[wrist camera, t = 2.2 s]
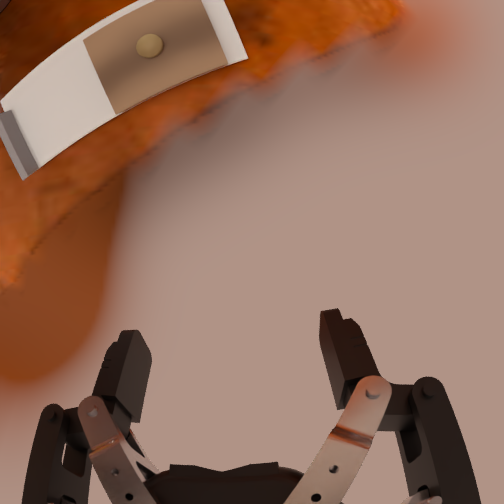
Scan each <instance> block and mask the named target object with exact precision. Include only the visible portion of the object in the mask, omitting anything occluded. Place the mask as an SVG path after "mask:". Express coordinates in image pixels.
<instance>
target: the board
mask: <svg viewBox="0 0 504 504" xmlns="http://www.w3.org/2000/svg"><path fill="white" fill-rule="evenodd" d="M152 1H154V0H139V1H136V2H134V3H132V4H130V5H129V6H127V7H125V8H123V9H121V10H119V11H117V12H115V13H114V14H112V15H110V16H108V17H107V18H105V19H103V20H102V21H100V22H98V23H97V24H95V25H93V26H92V27H90V28H89V29H87V30H86V31H84V32H82V33H81V34H79V35H78V36H77V37H75V38H74V39H72V40H71V41H69V42H68V43H67V44H65V45H64V46H62V47H61V48H60V49H58V50H57V51H56V52H54V53H53V54H52V55H51V56H49V57H48V58H47V59H46V60H44V61H43V62H42V63H41V64H40V65H38V66H37V67H36V68H35V69H34V70H32V71H31V72H30V73H29V74H28V75H27V76H26V77H25V78H23V79H22V80H21V81H20V82H19V83H18V84H17V85H16V86H15V87H14V88H13V89H12V90H11V91H10V92H9V93H8V94H7V95H6V96H5V97H4V98H3V99H2V100H1V101H0V102H1V104H2V107H3V109H4V112H3V113H0V136H1V139H2V141H3V143H4V145H5V147H6V149H7V151H8V153H9V155H10V157H11V159H12V161H13V163H14V165H15V167H16V169H17V171H18V173H19V175H20V176H21V178H22V180H24V179H26V178H27V177H28V176H30V175H31V174H32V173H34V172H35V171H36V170H38V169H39V168H41V167H42V166H43V165H44V164H46V163H47V162H48V161H50V160H51V159H52V158H54V157H55V156H56V155H58V154H59V153H61V152H62V151H63V150H65V149H66V148H68V147H69V146H70V145H72V144H73V143H75V142H76V141H78V140H79V139H81V138H82V137H84V136H85V135H87V134H88V133H90V132H92V131H93V130H95V129H96V128H98V127H100V126H101V125H103V124H105V123H106V122H108V121H110V120H111V119H113V118H115V117H116V116H118V115H120V114H122V113H123V112H121V113H119V114H117V115H116V114H115V112H114V110H113V108H112V106H111V104H110V101H109V99H108V97H107V95H106V93H105V91H104V88H103V86H102V84H101V82H100V80H99V77H98V75H97V73H96V71H95V68H94V66H93V64H92V61H91V59H90V57H89V54H88V52H87V50H86V47H85V45H84V42H83V40H84V39H85V38H87V37H88V36H90V35H91V34H93V33H94V32H96V31H98V30H99V29H101V28H103V27H104V26H106V25H108V24H109V23H111V22H113V21H115V20H117V19H118V18H120V17H122V16H124V15H126V14H128V13H130V12H132V11H134V10H135V9H138V8H140V7H142V6H144V5H146V4H148V3H150V2H152ZM201 1H202V3H203V5H204V8H205V10H206V12H207V14H208V17H209V19H210V21H211V23H212V26H213V28H214V30H215V33H216V35H217V37H218V40H219V42H220V44H221V47H222V49H223V52H224V54H225V56H226V59H227V61H228V65H231V64H233V63H236V62H239V61H242V60H246V59H248V57H247V54H246V52H245V49H244V47H243V44H242V42H241V40H240V37H239V35H238V32H237V30H236V28H235V25H234V23H233V21H232V18H231V16H230V14H229V11H228V9H227V7H226V5H225V2H224V0H201ZM228 65H226V66H228ZM223 67H225V66H223ZM221 68H222V67H221ZM218 69H219V68H218ZM215 70H217V69H215ZM212 71H214V70H212ZM210 72H211V71H210ZM207 73H209V72H207ZM205 74H206V73H205ZM202 75H204V74H202ZM200 76H201V75H200ZM197 77H199V76H197ZM195 78H196V77H195ZM192 79H194V78H192ZM190 80H191V79H190ZM188 81H189V80H188ZM185 82H187V81H185ZM183 83H184V82H183ZM181 84H182V83H181ZM178 85H180V84H178ZM176 86H177V85H176ZM174 87H175V86H174ZM172 88H173V87H172ZM170 89H171V88H170ZM167 90H169V89H167ZM165 91H166V90H165ZM163 92H164V91H163ZM161 93H162V92H161ZM159 94H160V93H159ZM157 95H158V94H157ZM155 96H156V95H155ZM153 97H154V96H153ZM151 98H152V97H151ZM149 99H150V98H149ZM147 100H148V99H147ZM145 101H146V100H145ZM143 102H144V101H143ZM141 103H142V102H141ZM139 104H140V103H139ZM137 105H138V104H137ZM135 106H136V105H135ZM133 107H134V106H133ZM133 107H131V108H133ZM131 108H130V109H131ZM128 110H129V109H128ZM126 111H127V110H126ZM124 112H125V111H124Z"/></svg>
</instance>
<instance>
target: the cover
mask: <svg viewBox="0 0 504 504" xmlns="http://www.w3.org/2000/svg"><path fill="white" fill-rule="evenodd" d="M83 42H84V45H85V47H86V50H87V52H88V54H89V57H90V59H91V61H92V64H93V66H94V68H95V71H96V73H97V75H98V77H99V80H100V82H101V84H102V86H103V88H104V91H105V93H106V95H107V97H108V99H109V101H110V104H111V106H112V108H113V110H114V112H115V114H116V115H117V114H119V113H121V112H124V111H126V110H128V109H130V108H131V107H133V106H135V105H137V104H139V103H141V102H143V101H145V100H147V99H149V98H151V97H153V96H155V95H157V94H159V93H161V92H163V91H165V90H167V89H170V88H172V87H174V86H176V85H178V84H181V83H183V82H185V81H188V80H190V79H192V78H195V77H197V76H200V75H202V74H205V73H207V72H210V71H212V70H215V69H218V68H221V67H223V66H226V65H228V61H227V59H226V56H225V54H224V52H223V49H222V47H221V44H220V42H219V40H218V37H217V35H216V33H215V30H214V28H213V26H212V23H211V21H210V19H209V17H208V14H207V12H206V10H205V8H204V5H203V3H202V1H201V0H154V1H152V2H150V3H148V4H146V5H144V6H142V7H140V8H138V9H135V10H134V11H132V12H130V13H128V14H126V15H124V16H122V17H120V18H118V19H117V20H115V21H113V22H111V23H109V24H108V25H106V26H104V27H103V28H101V29H99V30H98V31H96V32H94V33H93V34H91V35H90V36H88V37H87V38H85V39H84V40H83Z"/></svg>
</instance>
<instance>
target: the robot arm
mask: <svg viewBox="0 0 504 504" xmlns="http://www.w3.org/2000/svg"><path fill="white" fill-rule="evenodd" d="M9 1H10V0H0V12H1V11H2V10H3V9H4V8H5V7H6V5H7V4H8V3H9ZM319 340H320V346H321V350H322V354H323V357H324V361H325V365H326V369H327V372H328V376H329V380H330V384H331V387H332V391H333V395H334V399H335V403H336V407H337V410H340V409H345V410H344V411H343V413H342V415H341V417H340V419H339V421H338V423H337V424H336V426H335V428H334V429H332V431H331V432H330V434H329V436H328V437H327V439H326V441H325V443H324V444H323V446H322V448H321V449H320V451H319V452H318V454H317V456H316V457H315V459H314V460H313V462H312V463H311V465H310V466H309V468H308V470H307V471H306V473H305V474H304V473H302V472H299V471H297V470H294V469H291V468H285V467H279V465H278V462H272V463H261V464H250V465H246V466H243V467H239V468H236V469H232V470H228V471H224V472H221V471H216V470H211V469H207V468H203V467H199V466H195V465H194V466H193V465H173V464H170V470H167V471H163V472H161V473H160V471H159V470H158V469H157V468H156V467H155V465H153V464H152V462H151V461H150V460H149V458H148V457H147V455H146V454H145V452H144V450H143V449H142V447H141V445H140V444H139V442H138V440H137V439H136V437H135V435H134V434H133V432H132V430H131V429H130V425H131V422H135V423H140V418H141V412H142V407H143V402H144V397H145V392H146V387H147V382H148V378H149V373H150V368H151V364H152V357H151V353H150V350H149V348H148V347H147V345H146V343H145V341H144V339H143V337H142V335H141V333H140V332H139V331H138V330H123V331H122V332H121V333H120V335H119V338H118V341H117V342H113V343H112V345H111V346H110V347H109V348H108V350H107V352H106V354H105V357H104V361H103V363H102V366H101V367H102V368H101V369H100V372H99V375H98V378H97V381H96V384H95V387H94V390H93V393H92V396H89V397H87V398H85V399H84V400H83V401H82V402H81V403H80V404H79V407H76V408H71V409H66V410H64V409H63V408H62V407H60V406H59V405H58V404H50V405H48V406H47V407H45V408H44V409H43V411H42V413H41V416H40V419H39V423H38V426H37V430H36V434H35V438H34V442H33V446H32V450H31V454H30V459H29V463H28V468H27V473H26V479H25V485H24V492H23V498H22V504H88V494H89V485H90V476H91V468H92V464H93V467H94V469H95V471H96V473H97V475H98V477H99V479H100V481H101V483H102V485H103V487H104V489H105V491H106V493H107V495H108V497H109V499H110V500H111V502H112V504H343V503H342V502H341V501H342V499H343V497H344V496H345V494H346V492H347V490H348V489H349V487H350V485H351V484H352V482H353V480H354V478H355V476H356V474H357V473H358V471H359V469H360V467H361V465H362V463H363V461H364V459H365V457H366V455H367V453H368V451H369V449H370V447H371V444H372V440H373V438H374V436H375V433H376V431H395V434H396V438H397V442H398V446H399V450H400V454H401V458H402V463H403V467H404V472H405V477H406V481H407V486H408V491H409V497H408V498H407V499H405V500H404V501H403V502H402V503H401V504H481V501H480V496H479V492H478V488H477V484H476V480H475V476H474V473H473V469H472V466H471V462H470V459H469V455H468V452H467V449H466V445H465V442H464V440H463V436H462V433H461V431H460V428H459V425H458V422H457V420H456V417H455V414H454V411H453V409H452V406H451V404H450V401H449V399H448V396H447V394H446V392H445V389H444V386H443V385H442V383H441V382H440V381H439V380H437V379H436V378H433V377H423V378H420V379H418V380H417V381H416V382H415V384H414V385H399V384H393V383H390V382H388V381H387V380H386V379H384V378H383V377H382V376H381V375H380V373H379V371H378V369H377V367H376V364H375V361H374V359H373V356H372V354H371V352H370V349H369V347H368V345H367V342H366V340H365V338H364V335H363V333H362V330H361V328H360V326H359V325H358V324H357V323H356V322H355V321H353V319H351V318H350V319H345V320H343V318H342V316H341V313H340V311H339V309H338V308H337V309H332V310H325V311H321V313H320V331H319ZM65 443H66V450H65V454H64V460H63V465H62V455H63V450H64V444H65Z"/></svg>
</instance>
